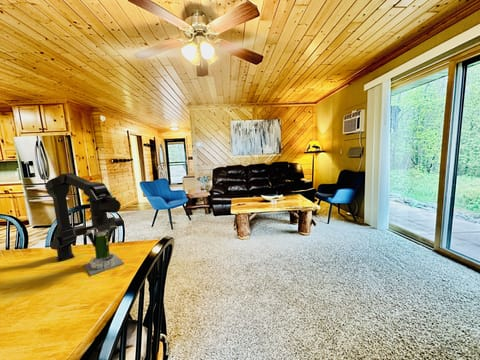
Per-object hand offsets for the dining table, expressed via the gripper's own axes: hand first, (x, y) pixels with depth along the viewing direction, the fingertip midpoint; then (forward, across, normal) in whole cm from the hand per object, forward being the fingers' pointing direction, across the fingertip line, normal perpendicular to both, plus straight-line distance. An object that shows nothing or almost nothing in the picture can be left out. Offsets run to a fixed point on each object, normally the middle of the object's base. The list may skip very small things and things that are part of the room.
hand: (101, 244), depth 96 cm
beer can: (+6, 0, 0) cm, 6 cm away
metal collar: (+10, 0, 0) cm, 10 cm away
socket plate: (+10, 0, 0) cm, 10 cm away
